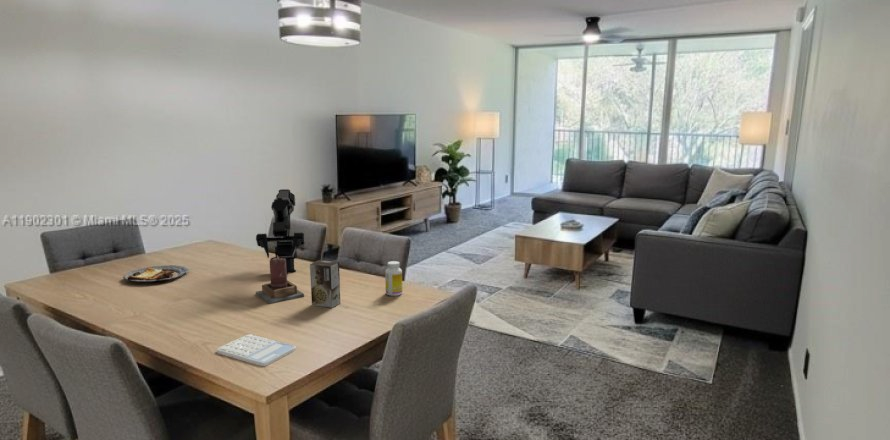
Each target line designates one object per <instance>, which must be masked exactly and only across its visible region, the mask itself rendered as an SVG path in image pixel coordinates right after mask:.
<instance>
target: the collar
mask: <svg viewBox="0 0 890 440" xmlns="http://www.w3.org/2000/svg"><path fill="white" fill-rule="evenodd" d="M255 295H256V296H257V297H259V298H261V299H262V300H263V301H264V302H266V303H267V304H270V305H271V304H274V303H279V302H284V301H289V300H293V299H294V300H295V299H298V298H303V297H305V294H304V293H303V292H301V291H299V290H298V286H297V285H296V284H294V283H293V282H291V281H290V280H288V279H287V287H286V288H281V289H276V290H272V289H271V282H268V283H264V284H261V290H257V291H255Z"/></svg>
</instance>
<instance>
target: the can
mask: <svg viewBox="0 0 890 440" xmlns="http://www.w3.org/2000/svg"><path fill="white" fill-rule="evenodd" d="M269 276H270V283H271V289H272V290H276V289H281V288H286V287H287V280H288V273H287V270H286V259H285V257H278V256H277V257H276V256H273V257H270V259H269Z"/></svg>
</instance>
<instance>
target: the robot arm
mask: <svg viewBox="0 0 890 440" xmlns="http://www.w3.org/2000/svg"><path fill="white" fill-rule="evenodd" d="M295 206H296V196H295V194H294V193H292V192H291V190H290V189H289V188H288V189H287V188H286V189H285V188H283V189H281V188H280V189H279V190H278V193H277V194H276V196H275V198H274V199H273V201H272V203H271V210H272V211H273V216H274V222H272V235H273V236H268V235H267V233H257V234H256V236H255V241H256V245H257V247H260V248H261V249H262V248H263V249H264V251H265V254H266V257H267V259H269V258H270V249H269V242H271V243H272V242H276V245H275V246H274V253H275V256H274V257H277V256H278V257H285V259H286V270H287V274H289V273H294V272H297V270H296V269H295V259H297V258H298V254H297V253H298V251H297V250H298V249H299V247H302V245H305V243H306V241H305V233H303V232H302V231H301V232H294V233H293V235H291V229H292V223H291V215H292V213H293V212H294V210H295Z"/></svg>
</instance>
